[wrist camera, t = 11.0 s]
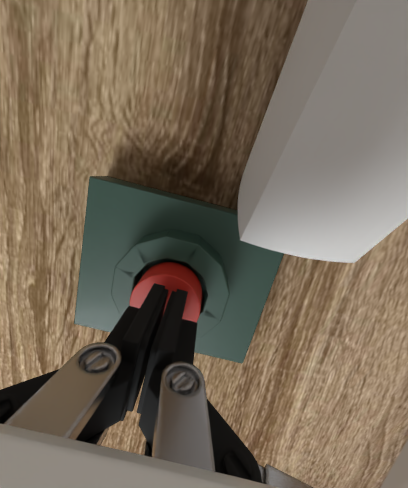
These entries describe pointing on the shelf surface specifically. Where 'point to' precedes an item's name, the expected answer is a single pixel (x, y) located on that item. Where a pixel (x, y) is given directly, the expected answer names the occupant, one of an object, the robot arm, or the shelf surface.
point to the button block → (172, 250)
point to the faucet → (333, 136)
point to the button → (171, 287)
